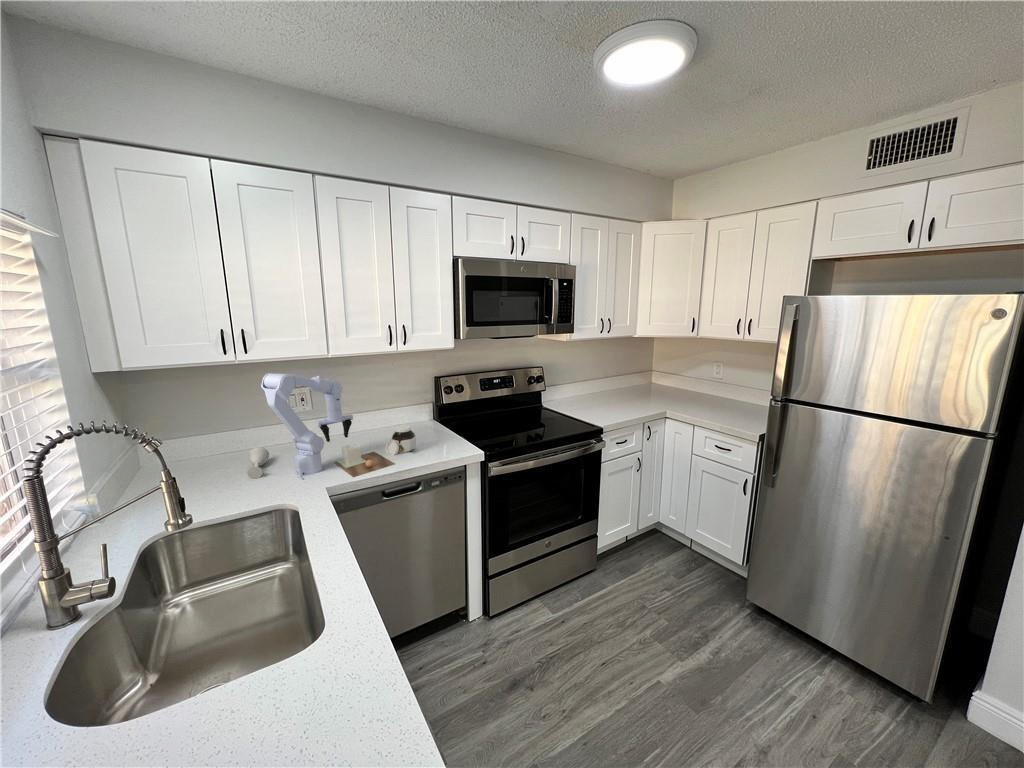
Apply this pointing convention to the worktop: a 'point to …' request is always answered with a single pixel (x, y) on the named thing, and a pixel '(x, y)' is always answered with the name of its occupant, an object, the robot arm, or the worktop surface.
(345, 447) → the rounded beige cube
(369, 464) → the terracotta ball
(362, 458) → the sage pad
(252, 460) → the chalice
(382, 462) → the walnut board
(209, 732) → the worktop surface
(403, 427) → the spread jar
